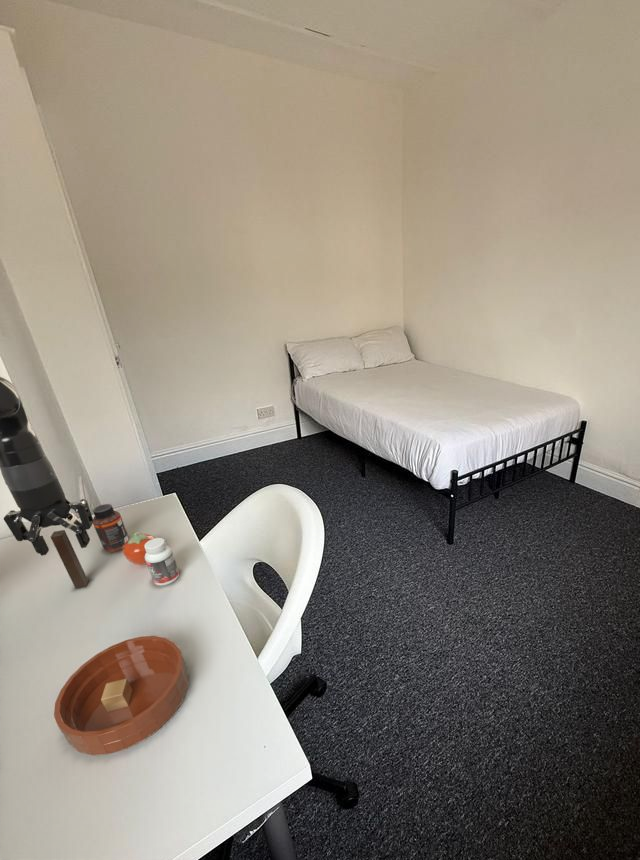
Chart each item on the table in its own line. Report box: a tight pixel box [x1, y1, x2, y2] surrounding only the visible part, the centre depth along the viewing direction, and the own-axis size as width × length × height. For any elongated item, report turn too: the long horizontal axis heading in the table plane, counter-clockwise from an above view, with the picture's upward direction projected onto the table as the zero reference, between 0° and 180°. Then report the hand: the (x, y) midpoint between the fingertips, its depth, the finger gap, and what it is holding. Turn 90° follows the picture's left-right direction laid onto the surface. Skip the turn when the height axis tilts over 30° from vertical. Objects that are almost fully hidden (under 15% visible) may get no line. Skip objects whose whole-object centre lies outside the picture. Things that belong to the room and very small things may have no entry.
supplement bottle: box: [92, 503, 130, 553], centre depth 103 cm, size 6×6×11 cm
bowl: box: [53, 635, 190, 756], centre depth 66 cm, size 17×17×5 cm
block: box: [101, 678, 132, 712], centre depth 66 cm, size 3×3×3 cm
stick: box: [50, 529, 89, 590], centre depth 89 cm, size 2×2×14 cm
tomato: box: [121, 532, 156, 566], centre depth 98 cm, size 7×7×8 cm
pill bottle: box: [144, 537, 180, 586], centre depth 91 cm, size 5×5×10 cm
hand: (65, 549), depth 88 cm, fingers open, 7 cm apart
